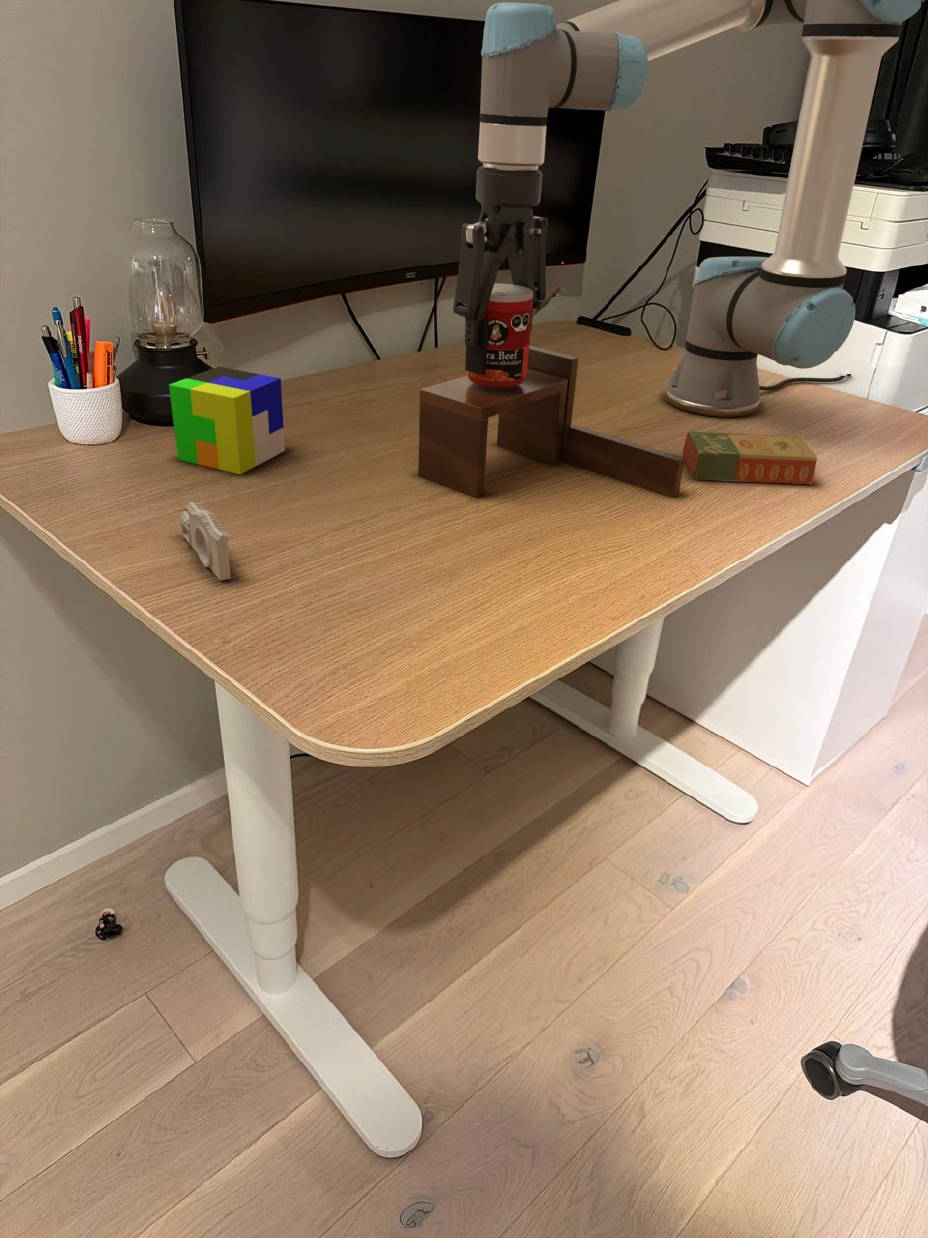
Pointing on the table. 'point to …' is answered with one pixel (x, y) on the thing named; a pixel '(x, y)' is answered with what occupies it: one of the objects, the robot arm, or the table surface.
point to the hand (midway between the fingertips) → (497, 365)
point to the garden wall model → (207, 539)
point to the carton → (749, 458)
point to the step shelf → (528, 430)
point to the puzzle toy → (228, 419)
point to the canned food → (507, 336)
